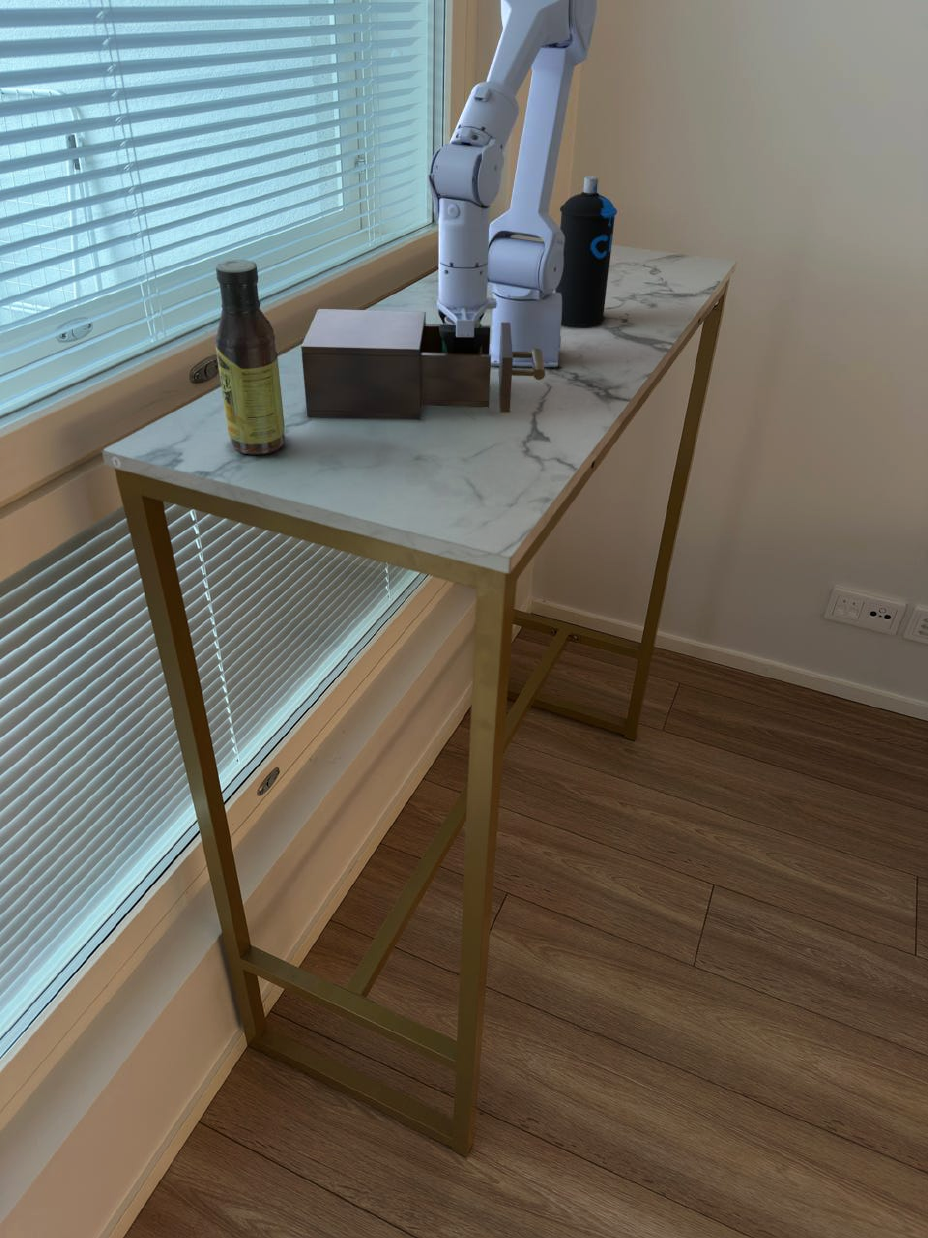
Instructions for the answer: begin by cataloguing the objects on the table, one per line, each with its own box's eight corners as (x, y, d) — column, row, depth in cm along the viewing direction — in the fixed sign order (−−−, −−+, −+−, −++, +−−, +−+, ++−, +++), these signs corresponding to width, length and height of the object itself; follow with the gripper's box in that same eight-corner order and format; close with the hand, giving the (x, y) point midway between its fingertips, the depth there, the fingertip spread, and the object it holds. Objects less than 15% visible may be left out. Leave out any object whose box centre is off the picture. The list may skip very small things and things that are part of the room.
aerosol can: (544, 323, 138) (555, 179, 126) (560, 307, 144) (571, 169, 132) (596, 330, 135) (612, 185, 123) (610, 314, 142) (627, 174, 130)
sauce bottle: (233, 433, 104) (208, 253, 92) (288, 433, 105) (270, 254, 93) (226, 459, 99) (199, 272, 87) (284, 458, 99) (264, 272, 88)
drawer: (538, 375, 118) (542, 323, 114) (544, 414, 108) (548, 358, 104) (412, 371, 118) (411, 319, 114) (405, 410, 108) (404, 354, 104)
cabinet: (426, 376, 119) (425, 311, 114) (420, 419, 108) (419, 349, 103) (323, 374, 119) (318, 308, 114) (307, 416, 108) (300, 346, 103)
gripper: (503, 280, 98) (497, 398, 106) (493, 245, 110) (489, 354, 118) (438, 279, 98) (437, 398, 106) (435, 244, 110) (435, 354, 118)
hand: (461, 375), depth 112 cm, fingers closed on can, 5 cm apart
